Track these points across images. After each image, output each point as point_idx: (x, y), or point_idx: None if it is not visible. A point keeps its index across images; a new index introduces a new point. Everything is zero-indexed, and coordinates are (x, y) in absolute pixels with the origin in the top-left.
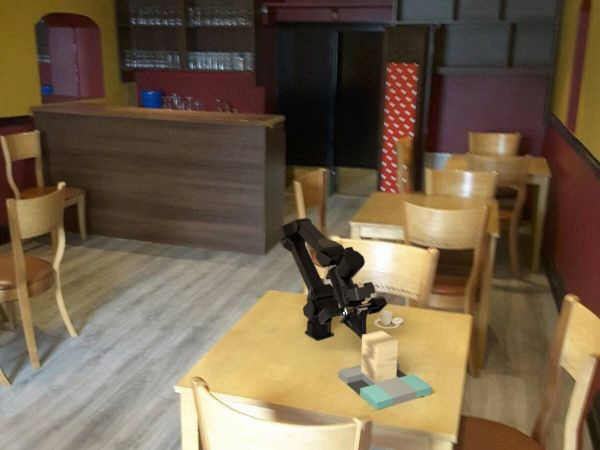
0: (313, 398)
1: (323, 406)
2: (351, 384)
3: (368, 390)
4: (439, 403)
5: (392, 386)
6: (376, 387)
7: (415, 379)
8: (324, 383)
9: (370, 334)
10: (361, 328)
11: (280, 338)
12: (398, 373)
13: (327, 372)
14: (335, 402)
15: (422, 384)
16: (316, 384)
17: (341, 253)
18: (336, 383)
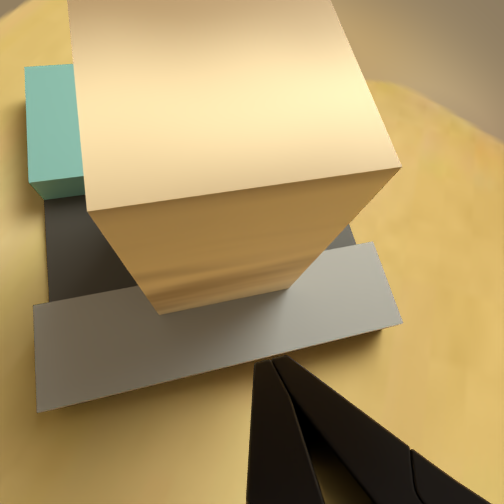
0: (496, 198)
1: (463, 145)
2: (342, 240)
3: None
4: (53, 43)
5: None
6: None
7: (55, 136)
8: (450, 291)
9: (299, 144)
10: (336, 440)
11: None
12: (78, 275)
13: (428, 392)
14: (421, 154)
15: (52, 92)
16: (484, 292)
17: None
18: (399, 277)
